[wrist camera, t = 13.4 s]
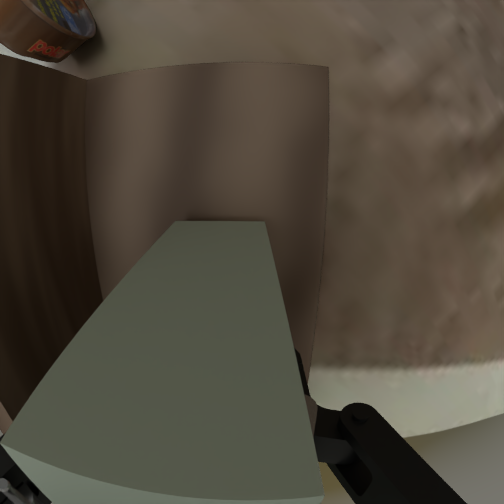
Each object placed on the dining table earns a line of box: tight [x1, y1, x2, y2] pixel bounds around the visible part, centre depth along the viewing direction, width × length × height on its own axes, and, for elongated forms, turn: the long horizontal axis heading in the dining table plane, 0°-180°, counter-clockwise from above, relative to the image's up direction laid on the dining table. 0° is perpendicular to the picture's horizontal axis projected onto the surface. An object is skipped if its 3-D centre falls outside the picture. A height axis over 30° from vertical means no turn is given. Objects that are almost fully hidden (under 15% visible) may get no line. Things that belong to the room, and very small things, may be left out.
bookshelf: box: [0, 54, 329, 434], centre depth 11 cm, size 14×22×14 cm, turn 0°
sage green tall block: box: [0, 221, 325, 504], centre depth 10 cm, size 4×10×12 cm, turn 179°
